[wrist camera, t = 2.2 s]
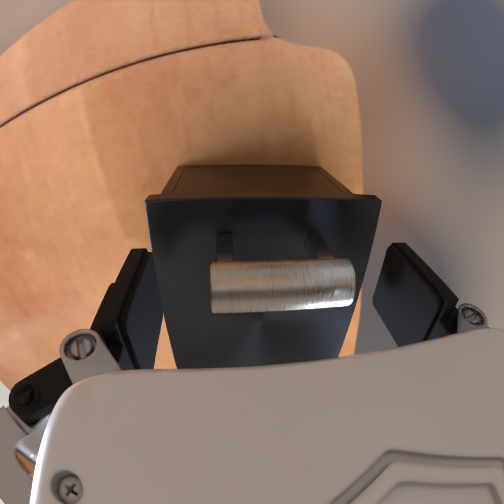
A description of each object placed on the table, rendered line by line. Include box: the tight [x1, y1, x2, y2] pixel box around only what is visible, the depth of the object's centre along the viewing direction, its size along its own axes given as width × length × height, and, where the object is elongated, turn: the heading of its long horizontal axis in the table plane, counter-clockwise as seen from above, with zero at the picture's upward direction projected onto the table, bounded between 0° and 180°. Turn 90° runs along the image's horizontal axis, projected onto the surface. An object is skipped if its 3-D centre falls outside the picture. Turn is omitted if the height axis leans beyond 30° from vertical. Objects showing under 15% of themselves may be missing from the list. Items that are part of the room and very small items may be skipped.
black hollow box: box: [161, 165, 353, 194], centre depth 20 cm, size 13×11×9 cm
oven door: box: [145, 192, 382, 369], centre depth 14 cm, size 14×11×5 cm
